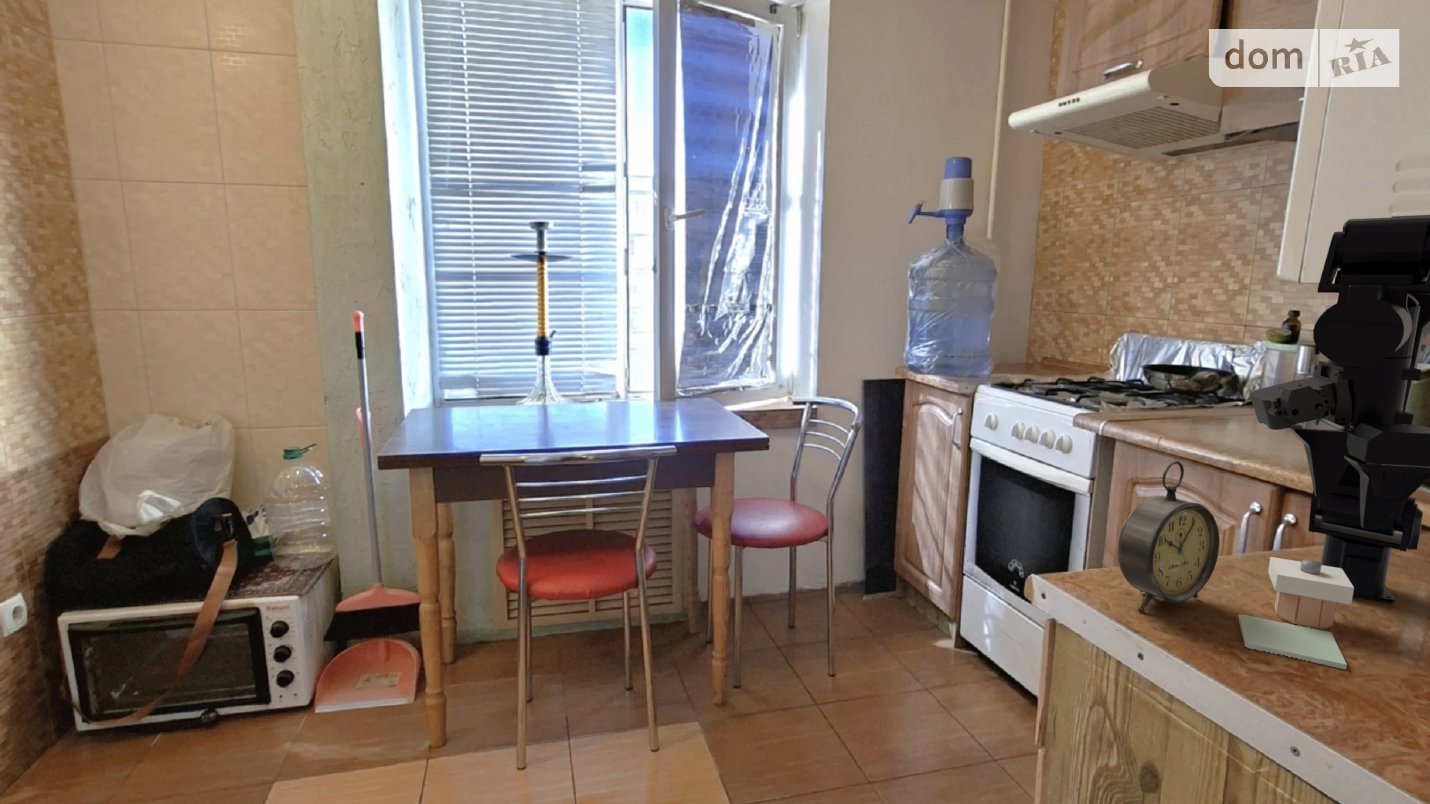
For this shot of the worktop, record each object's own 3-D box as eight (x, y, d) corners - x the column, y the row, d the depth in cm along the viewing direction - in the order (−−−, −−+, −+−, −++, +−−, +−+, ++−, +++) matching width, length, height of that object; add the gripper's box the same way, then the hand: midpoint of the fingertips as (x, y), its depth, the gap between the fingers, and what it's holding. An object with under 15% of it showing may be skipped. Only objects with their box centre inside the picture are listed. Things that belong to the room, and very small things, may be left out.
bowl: (1272, 604, 78) (1276, 575, 77) (1326, 615, 76) (1331, 584, 75) (1278, 622, 74) (1283, 590, 73) (1335, 633, 72) (1340, 601, 71)
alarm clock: (1146, 621, 74) (1164, 472, 71) (1101, 599, 79) (1116, 459, 76) (1215, 603, 78) (1235, 461, 75) (1169, 583, 83) (1185, 450, 80)
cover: (1268, 572, 78) (1271, 548, 78) (1339, 584, 75) (1343, 559, 74) (1275, 590, 73) (1279, 565, 73) (1351, 604, 70) (1355, 578, 70)
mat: (1238, 618, 75) (1238, 613, 75) (1330, 636, 71) (1331, 632, 71) (1245, 647, 69) (1246, 642, 69) (1346, 669, 65) (1346, 664, 65)
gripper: (1232, 341, 78) (1215, 477, 81) (1311, 366, 60) (1286, 538, 63) (1358, 343, 74) (1335, 485, 77) (1479, 370, 57) (1444, 552, 60)
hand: (1344, 511), depth 69 cm, fingers open, 9 cm apart
